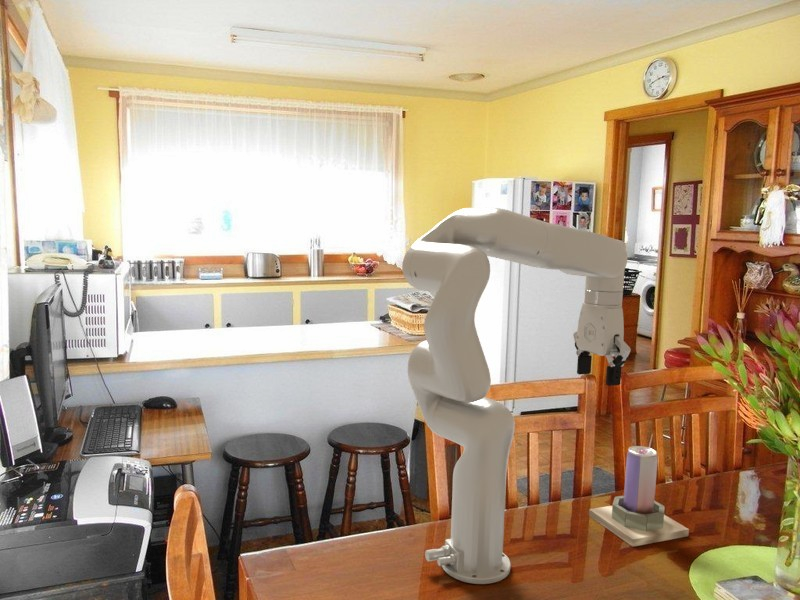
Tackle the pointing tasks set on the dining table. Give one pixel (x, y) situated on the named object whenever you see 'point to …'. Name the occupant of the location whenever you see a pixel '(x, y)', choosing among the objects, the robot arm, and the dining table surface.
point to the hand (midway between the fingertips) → (597, 379)
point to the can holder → (638, 523)
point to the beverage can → (640, 480)
